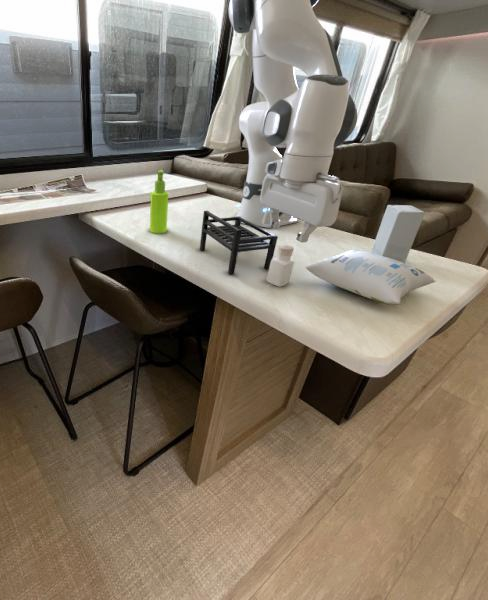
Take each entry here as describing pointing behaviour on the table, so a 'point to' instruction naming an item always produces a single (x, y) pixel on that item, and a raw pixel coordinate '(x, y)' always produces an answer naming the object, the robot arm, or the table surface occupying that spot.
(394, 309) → the table surface
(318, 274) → the pouch
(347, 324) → the table surface
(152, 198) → the soap dispenser
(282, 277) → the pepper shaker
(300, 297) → the table surface
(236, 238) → the rack
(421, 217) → the cosmetic box
